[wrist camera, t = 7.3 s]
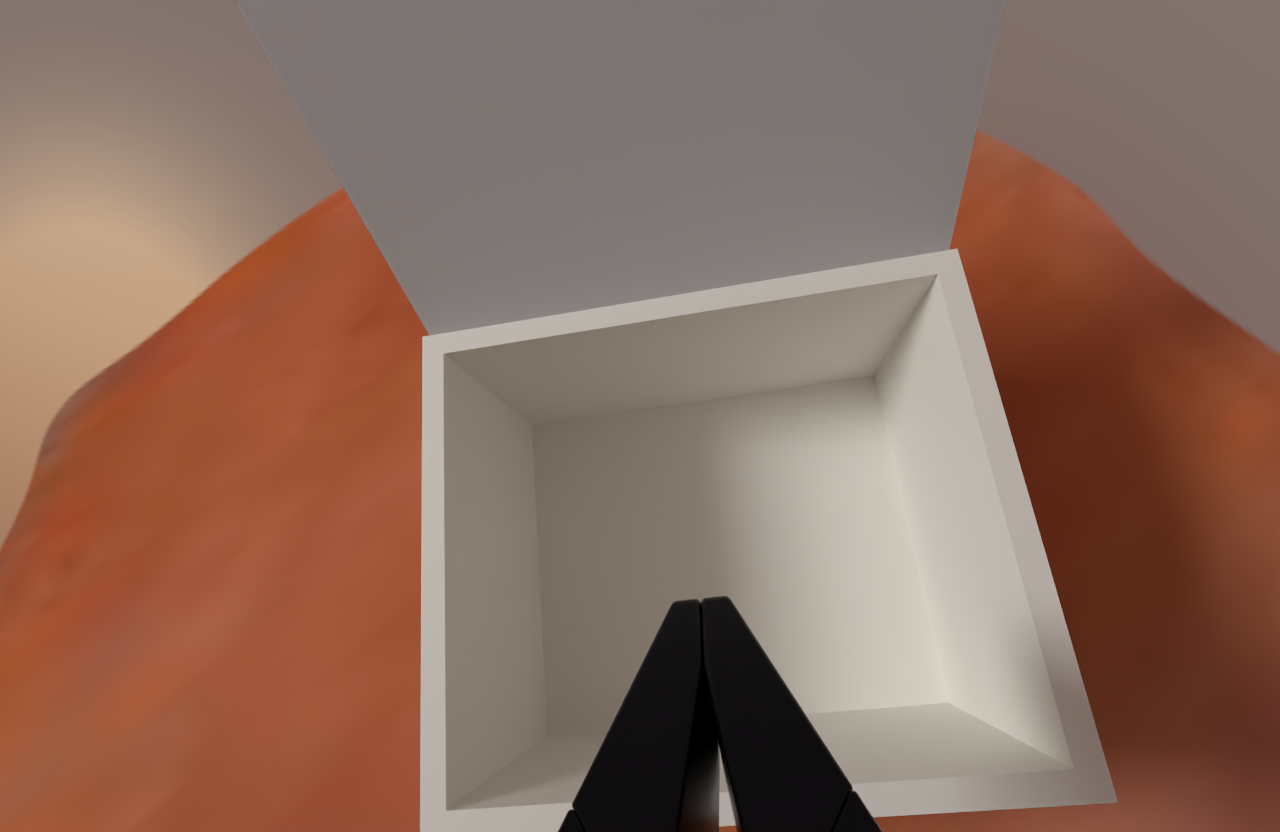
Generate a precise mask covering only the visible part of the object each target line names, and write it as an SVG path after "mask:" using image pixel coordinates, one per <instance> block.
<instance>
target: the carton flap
mask: <svg viewBox="0 0 1280 832" xmlns="http://www.w3.org/2000/svg"><path fill="white" fill-rule="evenodd" d="M234 1H235V2H236V4H237V6H238V8H239V9H240V11H241V13H242V14H243V16H244V18H245V19H246V21H247V23H248V25H249V26H250V28H251V30H252V32H253V33H254V35H255V37H256V38H257V40H258V42H259V43H260V45H261V47H262V49H263V51H264V52H265V54H266V56H267V57H268V59H269V61H270V63H271V64H272V66H273V68H274V69H275V71H276V73H277V75H278V76H279V78H280V80H281V81H282V83H283V85H284V87H285V88H286V90H287V92H288V93H289V95H290V97H291V98H292V100H293V102H294V104H295V105H296V107H297V109H298V110H299V112H300V114H301V116H302V117H303V119H304V121H305V123H306V124H307V126H308V128H309V129H310V131H311V133H312V134H313V136H314V138H315V140H316V141H317V143H318V145H319V147H320V148H321V150H322V152H323V153H324V155H325V157H326V159H327V160H328V162H329V163H330V165H331V167H332V169H333V171H334V172H335V174H336V176H337V177H338V179H339V181H340V183H341V184H342V186H343V188H344V190H345V191H346V193H347V195H348V196H349V198H350V200H351V202H352V203H353V205H354V207H355V208H356V210H357V212H358V214H359V215H360V217H361V219H362V220H363V222H364V224H365V226H366V227H367V229H368V231H369V232H370V234H371V236H372V238H373V239H374V241H375V243H376V244H377V246H378V248H379V250H380V251H381V253H382V255H383V256H384V258H385V260H386V262H387V263H388V265H389V267H390V268H391V270H392V272H393V274H394V275H395V277H396V279H397V280H398V282H399V284H400V286H401V287H402V289H403V291H404V292H405V294H406V296H407V298H408V299H409V301H410V303H411V304H412V306H413V308H414V310H415V311H416V313H417V315H418V317H419V318H420V320H421V322H422V323H423V325H424V327H425V329H426V330H427V332H428V334H429V335H437V334H443V333H449V332H455V331H461V330H467V329H473V328H479V327H485V326H491V325H497V324H503V323H509V322H515V321H521V320H527V319H534V318H540V317H546V316H552V315H558V314H564V313H570V312H576V311H582V310H588V309H594V308H600V307H606V306H612V305H618V304H624V303H631V302H637V301H643V300H649V299H655V298H661V297H667V296H673V295H679V294H685V293H691V292H697V291H703V290H709V289H715V288H721V287H727V286H734V285H740V284H746V283H752V282H758V281H764V280H770V279H776V278H782V277H788V276H794V275H800V274H806V273H812V272H818V271H824V270H831V269H837V268H843V267H849V266H855V265H861V264H867V263H873V262H879V261H885V260H891V259H897V258H903V257H909V256H915V255H921V254H928V253H934V252H940V251H946V250H949V248H950V244H951V239H952V235H953V230H954V226H955V222H956V217H957V213H958V208H959V204H960V199H961V195H962V191H963V186H964V182H965V177H966V173H967V169H968V164H969V160H970V155H971V151H972V147H973V142H974V138H975V133H976V129H977V124H978V120H979V116H980V111H981V107H982V102H983V98H984V94H985V89H986V85H987V80H988V76H989V72H990V67H991V63H992V58H993V54H994V49H995V45H996V41H997V36H998V32H999V27H1000V23H1001V18H1002V14H1003V10H1004V5H1005V1H1006V0H234Z"/></svg>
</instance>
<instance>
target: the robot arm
mask: <svg viewBox="0 0 1280 832" xmlns="http://www.w3.org/2000/svg"><path fill="white" fill-rule="evenodd" d="M719 748H720V754H721V759H722V764H723V769H724V774H725V779H726V783H727V788H728V792H729V797H730V802H731V806H732V811H733V815H734V820H735V824H736V829H737V832H883V831H882V830H881V828H880V827H879V825H878V824H877V822H876V821H875V819H874V818H873V816H872V815H871V813H870V812H869V810H868V809H867V807H866V806H865V804H864V803H863V801H862V800H861V798H860V796H859V795H858V793H857V792H856V791H853V788H852V785H851V783H850V782H849V780H848V779H847V777H846V776H845V774H844V772H843V771H842V769H841V768H840V766H839V765H838V763H837V762H836V760H835V759H834V757H833V756H832V754H831V752H830V751H829V749H828V748H827V746H826V745H825V743H824V742H823V740H822V739H821V737H820V736H819V734H818V733H817V731H816V729H815V728H814V726H813V725H812V723H811V722H810V720H809V719H808V717H807V716H806V714H805V713H804V711H803V709H802V708H801V706H800V705H799V703H798V702H797V700H796V699H795V697H794V696H793V694H792V693H791V691H790V689H789V688H788V686H787V685H786V683H785V682H784V680H783V679H782V677H781V676H780V674H779V673H778V671H777V670H776V668H775V666H774V665H773V663H772V662H771V660H770V659H769V657H768V656H767V654H766V653H765V651H764V650H763V648H762V646H761V645H760V643H759V642H758V640H757V639H756V637H755V636H754V634H753V633H752V631H751V630H750V628H749V627H748V625H747V623H746V622H745V620H744V619H743V617H742V616H741V614H740V613H739V611H738V610H737V608H736V607H735V605H734V603H733V602H732V600H731V599H730V598H729V597H727V596H718V597H708V598H704V599H703V600H702V601H701V602H700V601H699V600H698V599H689V600H680V601H675V602H673V603H672V604H671V606H670V608H669V610H668V612H667V614H666V616H665V618H664V620H663V622H662V624H661V626H660V628H659V630H658V632H657V634H656V636H655V638H654V640H653V642H652V644H651V646H650V648H649V650H648V652H647V654H646V656H645V658H644V660H643V662H642V664H641V666H640V668H639V670H638V672H637V674H636V676H635V678H634V680H633V682H632V684H631V686H630V688H629V690H628V692H627V694H626V696H625V698H624V700H623V702H622V704H621V706H620V708H619V710H618V712H617V714H616V717H615V719H614V721H613V723H612V725H611V727H610V729H609V731H608V733H607V735H606V737H605V739H604V741H603V743H602V745H601V747H600V749H599V751H598V753H597V755H596V757H595V759H594V761H593V763H592V765H591V767H590V769H589V771H588V773H587V775H586V777H585V779H584V781H583V783H582V785H581V787H580V789H579V791H578V793H577V795H576V797H575V799H574V801H573V803H572V808H573V810H572V809H570V810H569V811H568V812H567V814H566V816H565V818H564V820H563V822H562V824H561V826H560V828H559V831H558V832H719V790H720V757H719Z"/></svg>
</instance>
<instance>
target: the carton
mask: <svg viewBox="0 0 1280 832" xmlns="http://www.w3.org/2000/svg"><path fill="white" fill-rule="evenodd" d="M718 596H727V597H729V598H730V599H731V600H732V602H733V603H734V605H735V607H736V608H737V610H738V611H739V613H740V614H741V616H742V617H743V619H744V620H745V622H746V623H747V625H748V627H749V628H750V630H751V631H752V633H753V634H754V636H755V637H756V639H757V640H758V642H759V643H760V645H761V646H762V648H763V650H764V651H765V653H766V654H767V656H768V657H769V659H770V660H771V662H772V663H773V665H774V666H775V668H776V670H777V671H778V673H779V674H780V676H781V677H782V679H783V680H784V682H785V683H786V685H787V686H788V688H789V689H790V691H791V693H792V694H793V696H794V697H795V699H796V700H797V702H798V703H799V705H800V706H801V708H802V709H803V711H804V713H805V714H806V716H807V717H808V719H809V720H810V722H811V723H812V725H813V726H814V728H815V729H816V731H817V733H818V734H819V736H820V737H821V739H822V740H823V742H824V743H825V745H826V746H827V748H828V749H829V751H830V752H831V754H832V756H833V757H834V759H835V760H836V762H837V763H838V765H839V766H840V768H841V769H842V771H843V772H844V774H845V776H846V777H847V779H848V780H849V782H850V783H851V785H852V788H853V791H856V792H857V793H858V795H859V796H860V798H861V800H862V801H863V803H864V804H865V806H866V807H867V809H868V810H869V812H870V813H871V815H872V816H873V817H887V816H903V815H920V814H937V813H954V812H971V811H987V810H1004V809H1021V808H1038V807H1055V806H1072V805H1088V804H1105V803H1118V801H1117V797H1116V794H1115V790H1114V787H1113V784H1112V780H1111V777H1110V773H1109V770H1108V766H1107V763H1106V759H1105V756H1104V753H1103V749H1102V746H1101V742H1100V739H1099V735H1098V732H1097V728H1096V725H1095V721H1094V718H1093V715H1092V711H1091V708H1090V704H1089V701H1088V697H1087V694H1086V690H1085V687H1084V684H1083V680H1082V677H1081V673H1080V670H1079V666H1078V663H1077V659H1076V656H1075V653H1074V649H1073V646H1072V642H1071V639H1070V635H1069V632H1068V628H1067V625H1066V622H1065V618H1064V615H1063V611H1062V608H1061V604H1060V601H1059V597H1058V594H1057V590H1056V587H1055V584H1054V580H1053V577H1052V573H1051V570H1050V566H1049V563H1048V559H1047V556H1046V553H1045V549H1044V546H1043V542H1042V539H1041V535H1040V532H1039V528H1038V525H1037V522H1036V518H1035V515H1034V511H1033V508H1032V504H1031V501H1030V497H1029V494H1028V491H1027V487H1026V484H1025V480H1024V477H1023V473H1022V470H1021V466H1020V463H1019V459H1018V456H1017V453H1016V449H1015V446H1014V442H1013V439H1012V435H1011V432H1010V428H1009V425H1008V422H1007V418H1006V415H1005V411H1004V408H1003V404H1002V401H1001V397H1000V394H999V391H998V387H997V384H996V380H995V377H994V373H993V370H992V366H991V363H990V360H989V356H988V353H987V349H986V346H985V342H984V339H983V335H982V332H981V328H980V325H979V322H978V318H977V315H976V311H975V308H974V304H973V301H972V297H971V294H970V291H969V287H968V284H967V280H966V277H965V273H964V270H963V266H962V263H961V260H960V256H959V253H958V249H951V250H946V251H940V252H934V253H928V254H921V255H915V256H909V257H903V258H897V259H891V260H885V261H879V262H873V263H867V264H861V265H855V266H849V267H843V268H837V269H831V270H824V271H818V272H812V273H806V274H800V275H794V276H788V277H782V278H776V279H770V280H764V281H758V282H752V283H746V284H740V285H734V286H727V287H721V288H715V289H709V290H703V291H697V292H691V293H685V294H679V295H673V296H667V297H661V298H655V299H649V300H643V301H637V302H631V303H624V304H618V305H612V306H606V307H600V308H594V309H588V310H582V311H576V312H570V313H564V314H558V315H552V316H546V317H540V318H534V319H527V320H521V321H515V322H509V323H503V324H497V325H491V326H485V327H479V328H473V329H467V330H461V331H455V332H449V333H443V334H437V335H430V336H424V337H423V354H422V548H421V742H420V832H558V831H559V828H560V826H561V824H562V822H563V820H564V818H565V816H566V814H567V812H568V811H569V810H570V809H572V810H573V808H572V803H573V801H574V799H575V797H576V795H577V793H578V791H579V789H580V787H581V785H582V783H583V781H584V779H585V777H586V775H587V773H588V771H589V769H590V767H591V765H592V763H593V761H594V759H595V757H596V755H597V753H598V751H599V749H600V747H601V745H602V743H603V741H604V739H605V737H606V735H607V733H608V731H609V729H610V727H611V725H612V723H613V721H614V719H615V717H616V714H617V712H618V710H619V708H620V706H621V704H622V702H623V700H624V698H625V696H626V694H627V692H628V690H629V688H630V686H631V684H632V682H633V680H634V678H635V676H636V674H637V672H638V670H639V668H640V666H641V664H642V662H643V660H644V658H645V656H646V654H647V652H648V650H649V648H650V646H651V644H652V642H653V640H654V638H655V636H656V634H657V632H658V630H659V628H660V626H661V624H662V622H663V620H664V618H665V616H666V614H667V612H668V610H669V608H670V606H671V604H672V603H673V602H675V601H680V600H689V599H698V600H699V601H700V602H701V601H702V600H703V599H704V598H708V597H718ZM719 757H720V790H719V826H735V825H736V824H735V820H734V815H733V811H732V806H731V802H730V797H729V792H728V788H727V783H726V779H725V774H724V769H723V764H722V759H721V754H720V748H719Z"/></svg>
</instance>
